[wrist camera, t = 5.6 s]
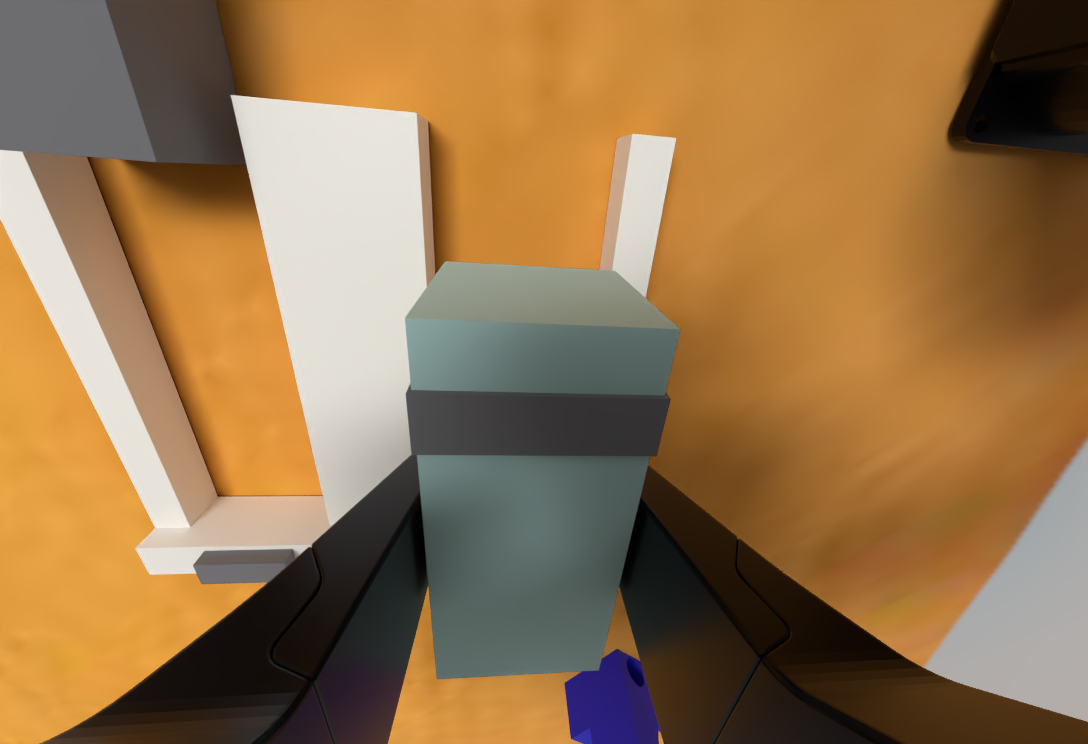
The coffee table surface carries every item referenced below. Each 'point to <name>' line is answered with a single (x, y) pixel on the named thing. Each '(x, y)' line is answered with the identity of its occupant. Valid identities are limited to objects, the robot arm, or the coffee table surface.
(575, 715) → the blue cradle block
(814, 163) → the coffee table surface
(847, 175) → the coffee table surface
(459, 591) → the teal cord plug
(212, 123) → the dark grey block
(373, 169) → the slot rack
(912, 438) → the coffee table surface
